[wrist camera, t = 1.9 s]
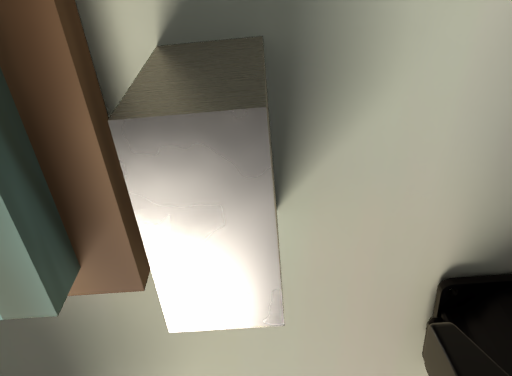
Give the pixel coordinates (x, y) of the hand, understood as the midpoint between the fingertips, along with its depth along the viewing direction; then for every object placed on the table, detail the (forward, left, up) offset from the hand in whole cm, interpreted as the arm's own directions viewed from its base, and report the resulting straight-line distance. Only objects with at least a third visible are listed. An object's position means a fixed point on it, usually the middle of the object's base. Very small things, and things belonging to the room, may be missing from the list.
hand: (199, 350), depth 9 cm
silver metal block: (0, 0, -9) cm, 9 cm away
